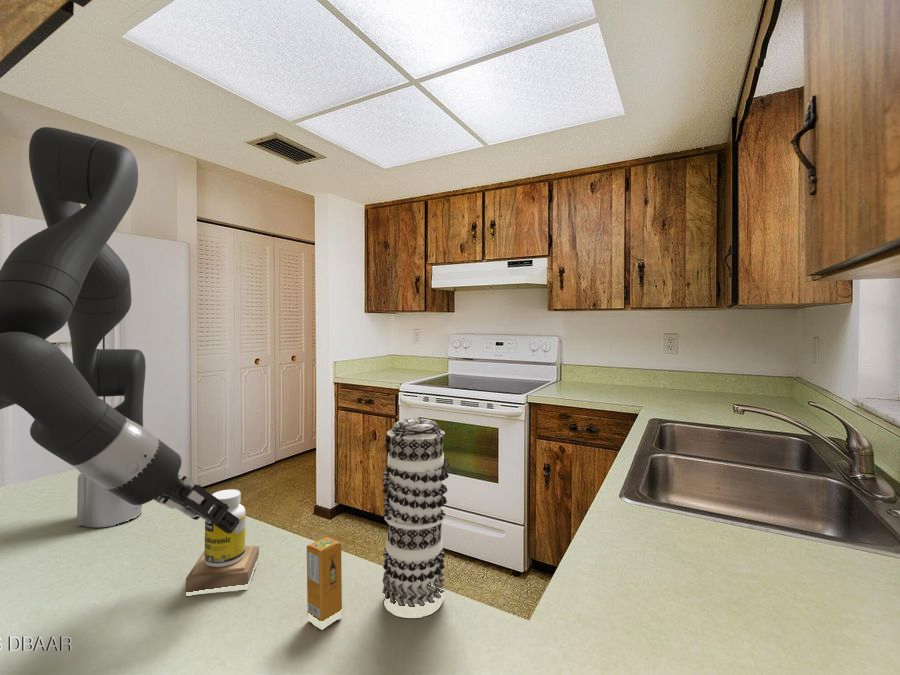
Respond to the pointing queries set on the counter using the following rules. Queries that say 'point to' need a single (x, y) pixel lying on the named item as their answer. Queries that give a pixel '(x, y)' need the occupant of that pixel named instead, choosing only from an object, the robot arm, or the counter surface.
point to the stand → (222, 572)
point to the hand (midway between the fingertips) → (216, 520)
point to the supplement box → (324, 578)
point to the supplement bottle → (226, 534)
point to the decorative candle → (414, 512)
